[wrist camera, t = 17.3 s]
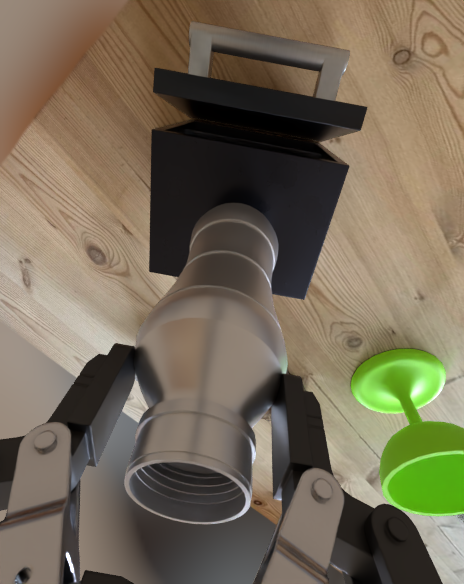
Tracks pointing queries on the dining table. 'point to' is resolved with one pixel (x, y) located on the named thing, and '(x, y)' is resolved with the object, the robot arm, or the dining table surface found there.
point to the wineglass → (414, 433)
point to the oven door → (256, 100)
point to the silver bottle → (208, 372)
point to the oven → (242, 193)
